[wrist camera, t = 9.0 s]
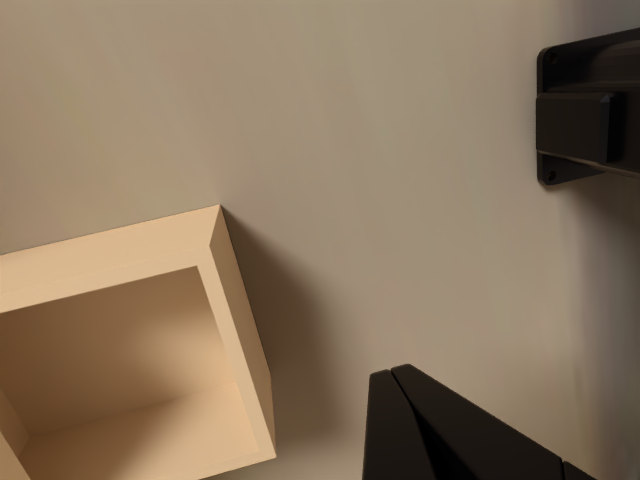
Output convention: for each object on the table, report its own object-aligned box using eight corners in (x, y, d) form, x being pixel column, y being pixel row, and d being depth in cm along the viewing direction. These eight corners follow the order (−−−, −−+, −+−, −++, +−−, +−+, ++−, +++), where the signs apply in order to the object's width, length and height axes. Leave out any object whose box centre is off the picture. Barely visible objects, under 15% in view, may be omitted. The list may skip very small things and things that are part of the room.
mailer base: (220, 204, 19) (209, 245, 14) (270, 375, 23) (276, 457, 18) (-72, 272, 18) (-197, 342, 13) (29, 439, 22) (-38, 546, 17)
